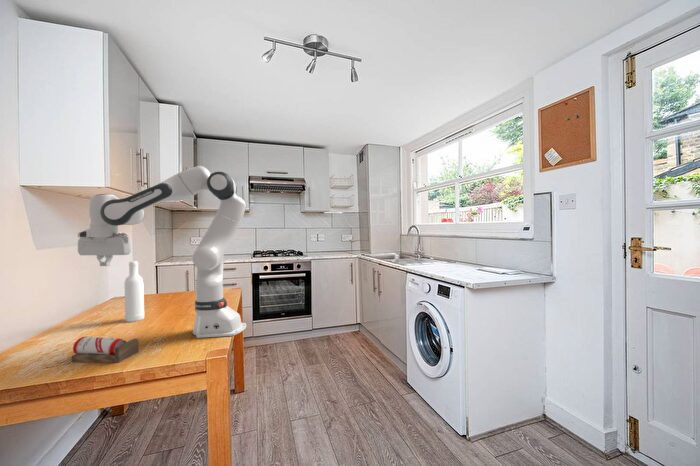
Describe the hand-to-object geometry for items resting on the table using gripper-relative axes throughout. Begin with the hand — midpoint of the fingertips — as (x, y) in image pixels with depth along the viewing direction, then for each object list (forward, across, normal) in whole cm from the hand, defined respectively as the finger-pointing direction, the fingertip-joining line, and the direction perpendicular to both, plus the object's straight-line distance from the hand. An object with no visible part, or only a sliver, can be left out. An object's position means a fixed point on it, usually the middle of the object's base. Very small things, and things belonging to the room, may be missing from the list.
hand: (105, 266), depth 118 cm
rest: (+31, -14, +15) cm, 37 cm away
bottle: (+31, +10, -26) cm, 42 cm away
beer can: (+27, -4, +15) cm, 31 cm away
